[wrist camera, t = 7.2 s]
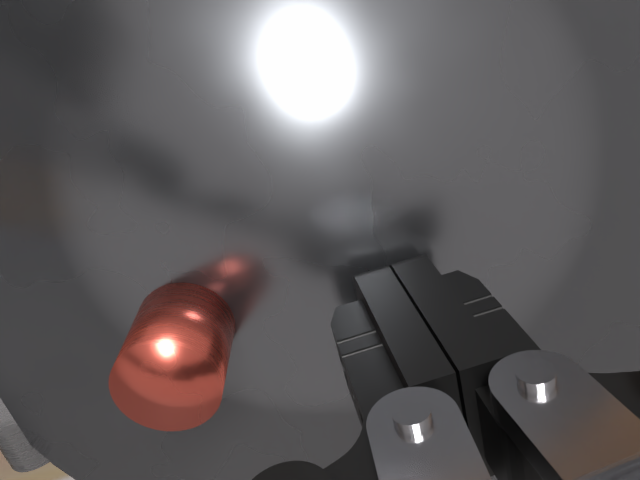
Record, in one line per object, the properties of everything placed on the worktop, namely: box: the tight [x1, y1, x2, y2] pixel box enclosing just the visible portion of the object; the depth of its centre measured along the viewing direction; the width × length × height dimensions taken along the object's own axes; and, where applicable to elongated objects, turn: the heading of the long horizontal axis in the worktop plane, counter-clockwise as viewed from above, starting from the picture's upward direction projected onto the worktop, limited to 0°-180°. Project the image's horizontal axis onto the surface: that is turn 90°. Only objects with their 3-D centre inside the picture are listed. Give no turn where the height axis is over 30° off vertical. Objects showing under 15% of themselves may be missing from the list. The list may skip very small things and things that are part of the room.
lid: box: [0, 0, 640, 480], centre depth 11 cm, size 20×17×3 cm
